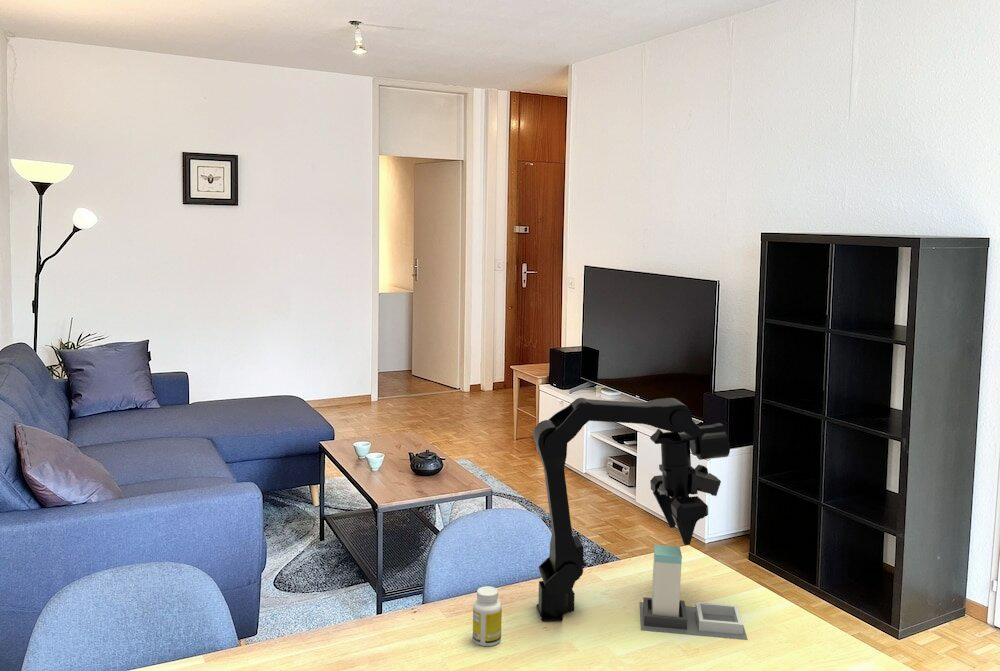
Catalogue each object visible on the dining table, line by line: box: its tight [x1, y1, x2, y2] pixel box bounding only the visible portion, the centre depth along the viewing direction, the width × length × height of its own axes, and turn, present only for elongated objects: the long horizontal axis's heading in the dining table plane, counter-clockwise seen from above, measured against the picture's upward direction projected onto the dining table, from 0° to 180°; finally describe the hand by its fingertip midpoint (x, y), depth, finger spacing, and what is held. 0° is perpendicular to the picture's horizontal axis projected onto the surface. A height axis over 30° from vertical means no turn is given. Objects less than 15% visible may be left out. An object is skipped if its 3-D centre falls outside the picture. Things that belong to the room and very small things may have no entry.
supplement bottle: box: [472, 586, 503, 647], centre depth 155 cm, size 5×5×10 cm
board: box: [639, 596, 749, 641], centre depth 163 cm, size 20×12×3 cm, turn 82°
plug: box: [651, 544, 683, 617], centre depth 163 cm, size 5×5×14 cm
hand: (679, 535), depth 167 cm, fingers open, 9 cm apart
